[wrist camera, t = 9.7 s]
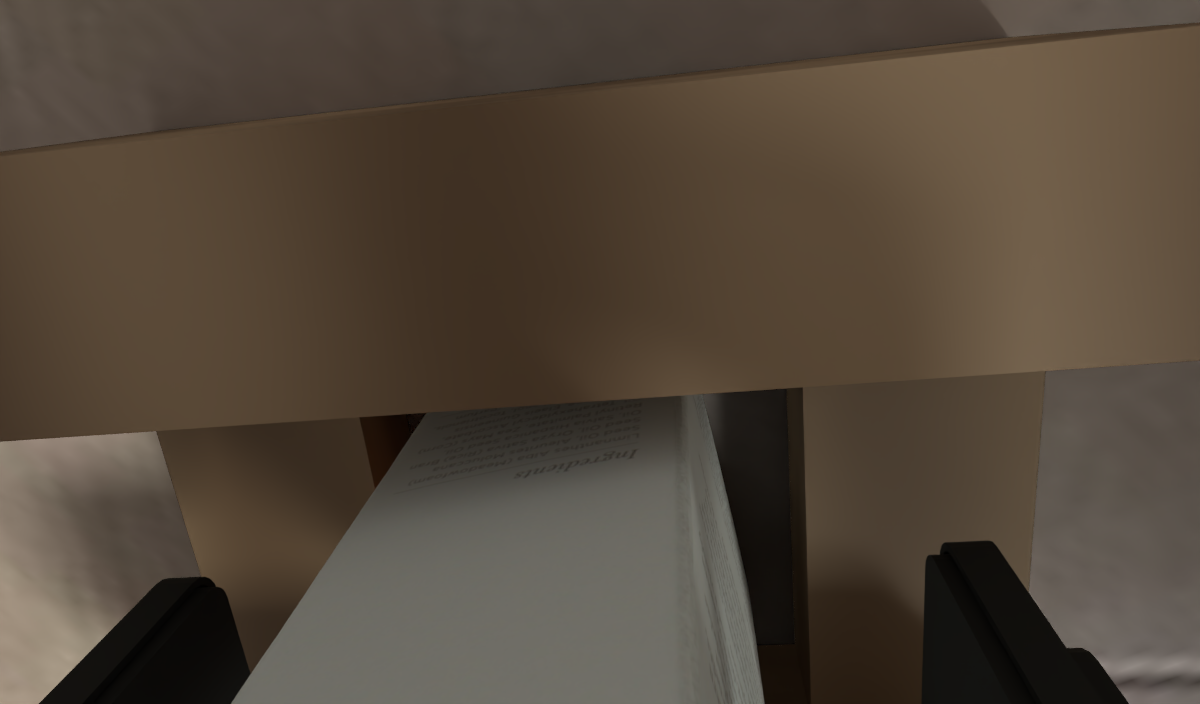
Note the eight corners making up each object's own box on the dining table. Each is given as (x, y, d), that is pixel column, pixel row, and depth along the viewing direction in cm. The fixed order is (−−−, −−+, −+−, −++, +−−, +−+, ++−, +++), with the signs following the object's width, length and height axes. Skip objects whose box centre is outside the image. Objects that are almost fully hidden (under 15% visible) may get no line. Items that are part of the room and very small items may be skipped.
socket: (1010, 37, 12) (1299, 14, 7) (970, 757, 17) (1123, 1107, 11) (148, 132, 14) (-208, 179, 8) (325, 769, 18) (173, 1081, 13)
